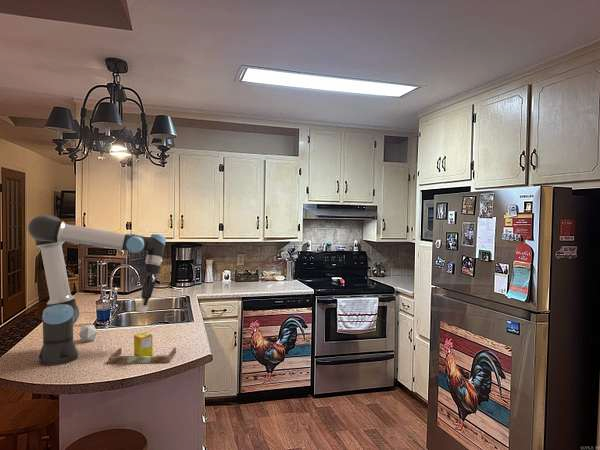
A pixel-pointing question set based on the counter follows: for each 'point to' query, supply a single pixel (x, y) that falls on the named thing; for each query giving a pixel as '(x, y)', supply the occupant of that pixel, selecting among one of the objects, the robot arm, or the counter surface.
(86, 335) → the die
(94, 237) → the robot arm
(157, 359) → the frame
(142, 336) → the supplement box
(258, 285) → the counter surface
